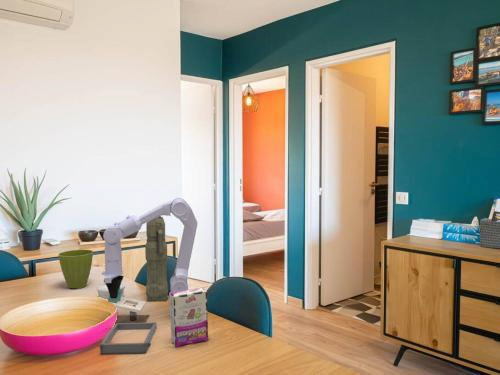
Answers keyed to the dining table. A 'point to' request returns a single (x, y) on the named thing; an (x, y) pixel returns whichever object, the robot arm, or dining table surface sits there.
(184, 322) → the candy bar box
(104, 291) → the ramekin
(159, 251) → the stone pillar statue
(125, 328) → the charcoal tray
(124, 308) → the cream ring
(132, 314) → the metal T-head stake
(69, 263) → the flower pot
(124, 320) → the walnut plate
